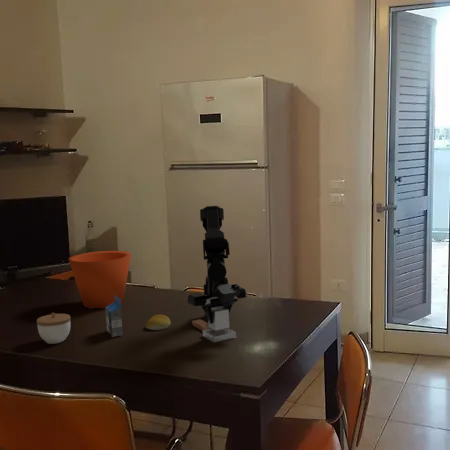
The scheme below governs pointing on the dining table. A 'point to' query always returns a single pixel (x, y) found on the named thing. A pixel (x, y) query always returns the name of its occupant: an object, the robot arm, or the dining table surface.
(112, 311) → the grey and blue box
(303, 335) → the dining table surface
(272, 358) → the dining table surface
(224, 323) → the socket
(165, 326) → the bread roll
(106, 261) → the flowerpot
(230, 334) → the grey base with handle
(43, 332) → the lidded jar
